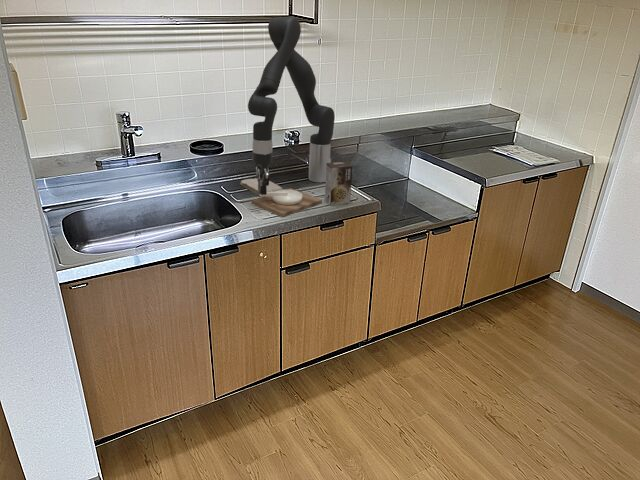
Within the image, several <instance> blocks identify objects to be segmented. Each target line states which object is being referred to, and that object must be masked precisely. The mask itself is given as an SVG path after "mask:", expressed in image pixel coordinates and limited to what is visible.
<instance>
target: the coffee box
mask: <svg viewBox="0 0 640 480" xmlns="http://www.w3.org/2000/svg"><path fill="white" fill-rule="evenodd" d="M352 178H353V165H352V164H350V162H348V161H334V162H331V163H327V164H326V182H325V186H324V201H325V202H326V203H327V204H328V205H329V206H338V204H339V205H346V203H348V204H350V203H351V194H352Z"/></svg>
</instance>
